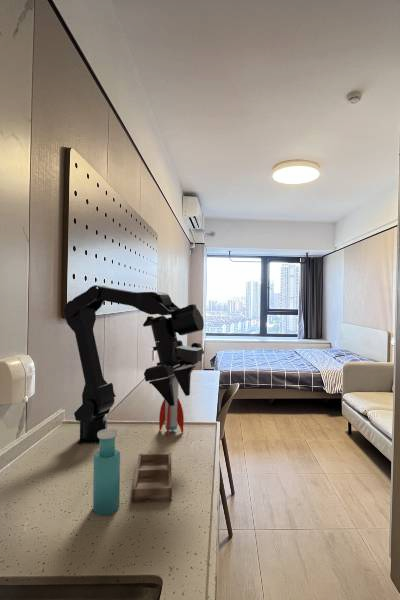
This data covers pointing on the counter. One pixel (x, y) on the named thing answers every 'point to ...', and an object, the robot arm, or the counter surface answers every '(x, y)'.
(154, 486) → the caddy
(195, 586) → the counter surface
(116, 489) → the bottle
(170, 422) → the toy rocket
